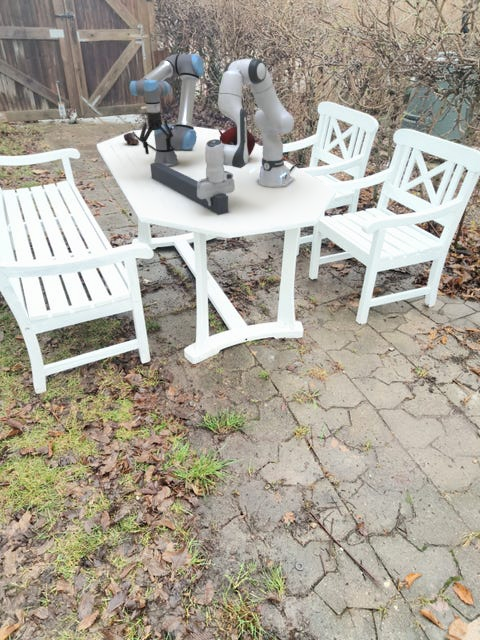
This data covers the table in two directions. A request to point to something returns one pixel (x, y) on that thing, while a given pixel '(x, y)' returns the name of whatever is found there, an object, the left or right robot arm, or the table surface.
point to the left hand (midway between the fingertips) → (158, 152)
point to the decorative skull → (231, 138)
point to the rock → (131, 138)
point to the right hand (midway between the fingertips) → (216, 203)
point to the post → (187, 187)
